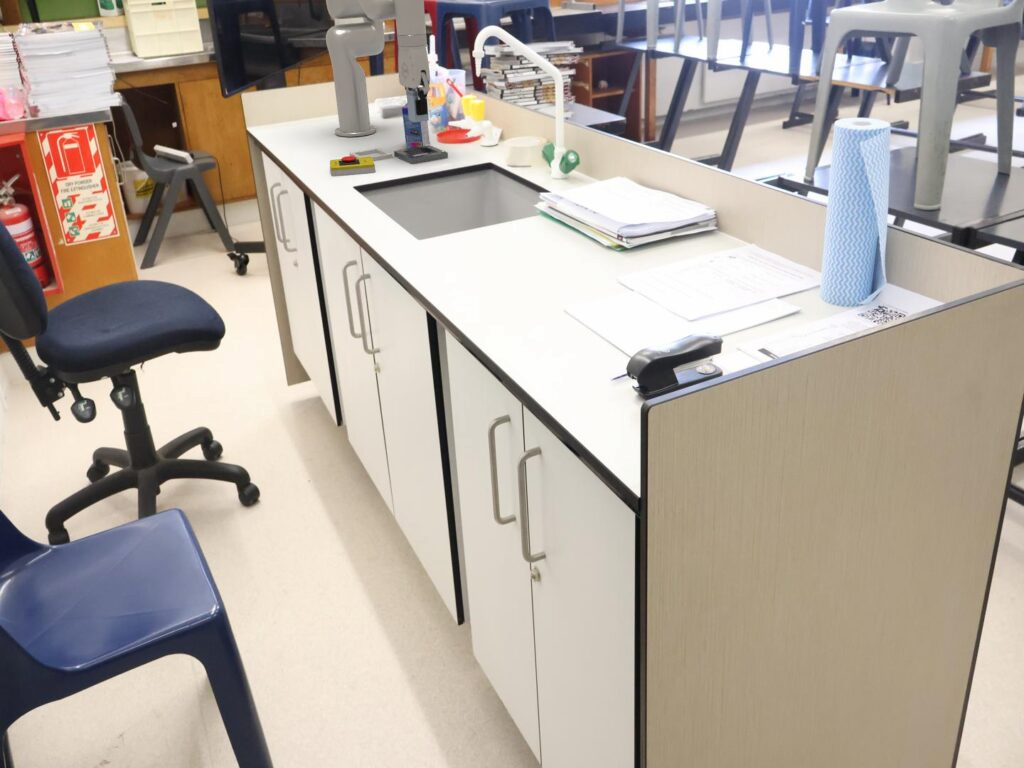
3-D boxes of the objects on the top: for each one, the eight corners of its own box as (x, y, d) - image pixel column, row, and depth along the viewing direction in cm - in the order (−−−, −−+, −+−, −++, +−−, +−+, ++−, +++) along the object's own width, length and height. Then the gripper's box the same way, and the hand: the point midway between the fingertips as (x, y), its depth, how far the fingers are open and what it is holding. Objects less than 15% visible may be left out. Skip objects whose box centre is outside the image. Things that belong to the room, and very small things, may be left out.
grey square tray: (349, 158, 254) (349, 152, 253) (379, 153, 258) (378, 148, 257) (362, 164, 247) (362, 159, 247) (392, 159, 251) (392, 154, 251)
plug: (408, 120, 246) (406, 89, 243) (422, 118, 248) (419, 87, 244) (415, 122, 243) (412, 91, 240) (428, 120, 245) (426, 89, 241)
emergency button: (323, 155, 241) (379, 151, 244) (325, 172, 244) (381, 167, 246) (324, 164, 233) (382, 159, 236) (326, 180, 236) (384, 175, 238)
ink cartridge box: (411, 142, 269) (407, 92, 262) (430, 142, 268) (426, 91, 262) (404, 150, 260) (400, 98, 253) (423, 150, 260) (420, 98, 253)
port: (394, 158, 253) (393, 149, 251) (429, 152, 258) (429, 144, 256) (412, 166, 244) (411, 157, 243) (448, 159, 249) (447, 151, 248)
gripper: (385, 40, 241) (392, 111, 250) (413, 45, 228) (419, 119, 237) (410, 37, 245) (416, 107, 253) (440, 42, 232) (445, 116, 240)
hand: (418, 112), depth 245 cm, fingers closed on plug, 4 cm apart
